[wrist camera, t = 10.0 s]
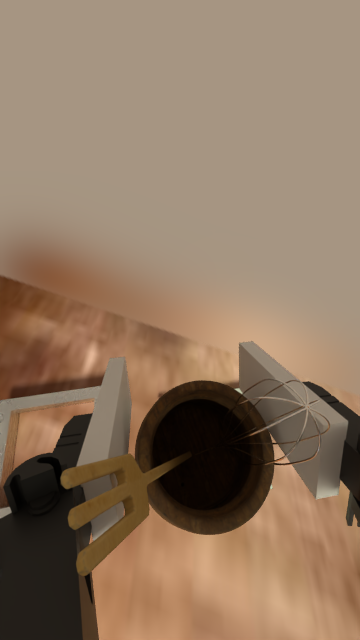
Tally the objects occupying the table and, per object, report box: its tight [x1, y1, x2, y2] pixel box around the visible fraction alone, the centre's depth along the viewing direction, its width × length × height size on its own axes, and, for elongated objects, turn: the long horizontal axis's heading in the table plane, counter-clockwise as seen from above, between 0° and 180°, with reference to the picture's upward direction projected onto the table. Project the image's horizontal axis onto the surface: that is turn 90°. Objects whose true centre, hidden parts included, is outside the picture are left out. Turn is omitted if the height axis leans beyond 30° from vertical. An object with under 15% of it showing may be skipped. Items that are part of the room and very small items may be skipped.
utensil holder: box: [60, 378, 330, 576], centre depth 10 cm, size 6×6×12 cm
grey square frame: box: [0, 386, 101, 518], centre depth 25 cm, size 11×11×2 cm
